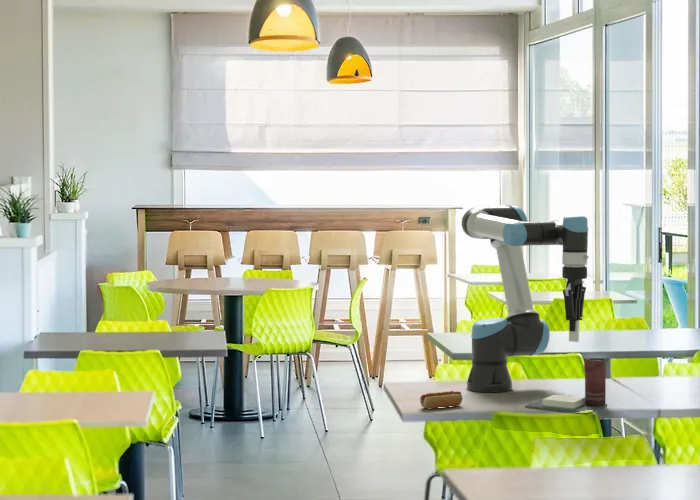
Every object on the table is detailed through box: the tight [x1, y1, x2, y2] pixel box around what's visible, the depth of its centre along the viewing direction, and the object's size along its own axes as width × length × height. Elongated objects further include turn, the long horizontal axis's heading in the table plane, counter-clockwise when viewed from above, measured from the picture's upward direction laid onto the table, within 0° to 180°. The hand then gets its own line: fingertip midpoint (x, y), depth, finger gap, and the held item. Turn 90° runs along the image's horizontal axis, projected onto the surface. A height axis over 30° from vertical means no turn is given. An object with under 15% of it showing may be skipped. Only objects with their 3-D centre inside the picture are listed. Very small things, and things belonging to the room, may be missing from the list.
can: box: [583, 358, 607, 407], centre depth 325 cm, size 6×6×14 cm
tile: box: [542, 394, 585, 410], centre depth 325 cm, size 10×2×9 cm
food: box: [419, 390, 463, 409], centre depth 327 cm, size 14×6×5 cm, turn 115°
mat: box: [524, 397, 608, 413], centre depth 327 cm, size 20×16×1 cm
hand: (573, 341), depth 332 cm, fingers closed
